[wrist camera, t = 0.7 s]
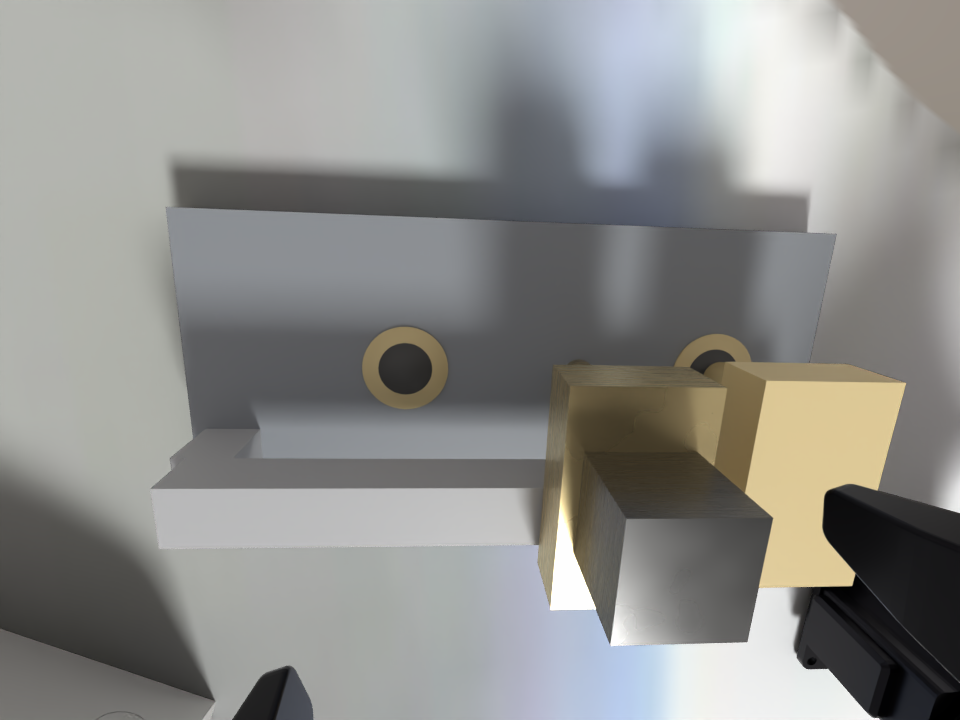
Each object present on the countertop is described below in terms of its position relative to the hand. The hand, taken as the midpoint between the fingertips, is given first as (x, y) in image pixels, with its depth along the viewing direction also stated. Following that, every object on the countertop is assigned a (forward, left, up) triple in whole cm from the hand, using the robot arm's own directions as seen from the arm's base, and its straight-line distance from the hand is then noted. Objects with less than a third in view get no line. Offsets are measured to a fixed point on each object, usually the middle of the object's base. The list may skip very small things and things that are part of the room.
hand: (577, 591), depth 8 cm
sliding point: (-3, +1, -11) cm, 11 cm away
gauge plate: (0, 0, -13) cm, 13 cm away
